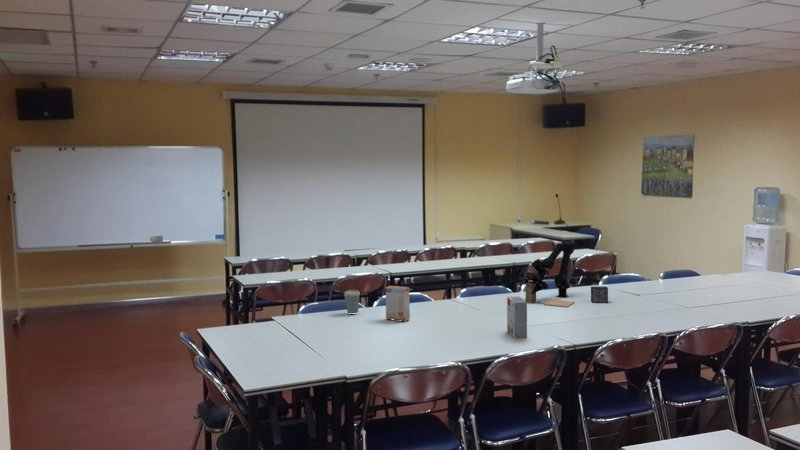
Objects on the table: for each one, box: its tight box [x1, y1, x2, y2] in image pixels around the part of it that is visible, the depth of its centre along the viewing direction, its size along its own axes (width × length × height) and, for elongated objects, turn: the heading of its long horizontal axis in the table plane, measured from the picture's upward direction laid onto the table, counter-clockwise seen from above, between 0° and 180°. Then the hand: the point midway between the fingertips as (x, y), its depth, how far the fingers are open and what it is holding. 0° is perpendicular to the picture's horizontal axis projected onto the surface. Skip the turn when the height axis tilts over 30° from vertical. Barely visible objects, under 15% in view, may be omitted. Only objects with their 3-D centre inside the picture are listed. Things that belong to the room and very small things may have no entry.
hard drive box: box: [506, 296, 528, 338], centre depth 361 cm, size 16×8×20 cm, turn 5°
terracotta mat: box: [543, 299, 575, 308], centre depth 439 cm, size 16×16×1 cm
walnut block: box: [525, 283, 537, 304], centre depth 445 cm, size 5×5×13 cm
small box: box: [590, 285, 609, 304], centre depth 443 cm, size 11×6×10 cm, turn 84°
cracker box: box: [385, 285, 411, 322], centre depth 400 cm, size 14×6×21 cm, turn 59°
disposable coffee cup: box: [343, 289, 361, 314], centre depth 419 cm, size 11×11×15 cm
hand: (529, 293), depth 444 cm, fingers closed on walnut block, 5 cm apart
